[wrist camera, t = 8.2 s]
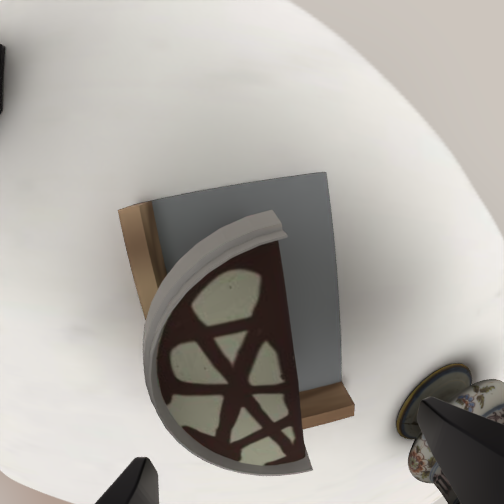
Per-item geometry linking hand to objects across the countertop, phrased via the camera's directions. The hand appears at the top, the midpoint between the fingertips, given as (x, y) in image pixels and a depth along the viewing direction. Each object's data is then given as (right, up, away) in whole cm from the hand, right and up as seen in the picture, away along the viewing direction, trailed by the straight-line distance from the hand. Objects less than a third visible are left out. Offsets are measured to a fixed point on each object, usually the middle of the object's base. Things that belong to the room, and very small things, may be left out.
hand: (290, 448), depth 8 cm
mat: (-1, +2, +13) cm, 13 cm away
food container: (-3, +3, +12) cm, 13 cm away
